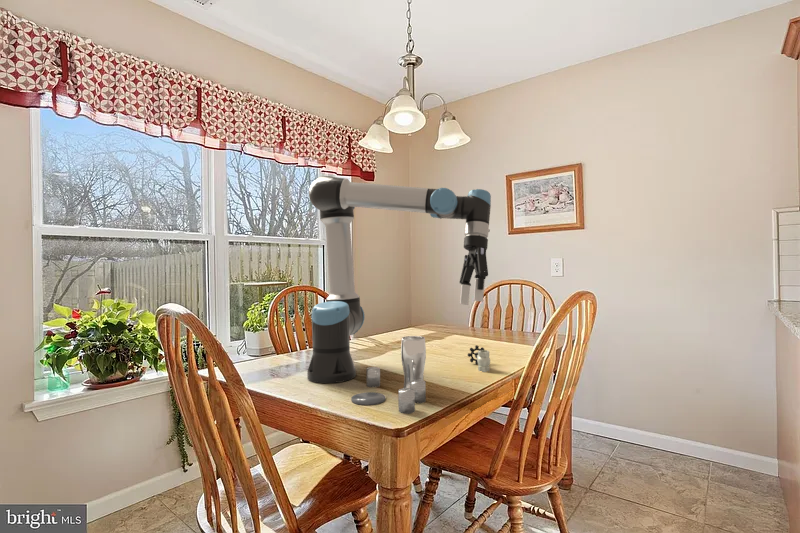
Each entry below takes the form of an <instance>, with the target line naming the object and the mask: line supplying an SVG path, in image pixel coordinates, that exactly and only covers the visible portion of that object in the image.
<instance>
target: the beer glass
mask: <svg viewBox="0 0 800 533" xmlns="http://www.w3.org/2000/svg"><path fill="white" fill-rule="evenodd" d="M400 357H401V365H402V371H403V377H404V378H403V379H404V380H403V381H404V382H403V388H410V381H412V380H424V374H425V372H424V371H425V368H426V360H427V359H426V358H427V350H426V337H424V336H423V335H422V336H421V335H408V336H402V337H401V345H400Z"/></svg>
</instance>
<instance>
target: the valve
mask: <svg viewBox="0 0 800 533" xmlns="http://www.w3.org/2000/svg"><path fill="white" fill-rule="evenodd" d="M479 347H480V346H479V345H475V346H474V348H473V347H470V348H469V351H470V352H469V353H467V357H469V358H470V359H469V361H470V362H471V363H473V362H474V361H475V365H477V370H478V372H480V371H482V372H481V373H487V371H488V372H490V368H491V367H490V365H491V359H490V351H489V350H488V349H485V348H484V347H480V348H479ZM475 351H477V352H475ZM473 356H474V357H473Z"/></svg>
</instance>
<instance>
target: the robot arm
mask: <svg viewBox="0 0 800 533" xmlns="http://www.w3.org/2000/svg"><path fill="white" fill-rule="evenodd" d="M308 197H309V200H310V203H311V204H312V205H313V206H314V207H315V208H316V209H317V210H319V220H320V222H321V223H323V225H324V228H325V238H326V239H325V242H326V255H327V256H326V257H327V266H328V267H327V268H328V281H329V282H328V284H329V295H328V296H327V297H326V299H325V302H319V303H317V304H316V305H314V306H313V307H312V310H311V311H312V312H311V335H312V336H311V337H312V338H311V339H312V354H311V357H310V358H311V359H310V362H309V365H308V368H307V375H306V376H307V377H306V378H307V380H308V381H310V382H313V383H321V384H329V383H331V384H333V383H335V384H336V383H341V382H342V383H343V382H346V381H350V380H353V379H354V378H355V377H356V373H357V372H356V366H355V363H354V361H353V357H352V355H351V351H350V350H351V349H350V337H351V336H353V335H355V334H356V333H358V331H359V330H361V328H362V327H363V324H364V322H365V312H364V309H363V307H362V306H361V299H360V295H359V294H358V293H357V292H356V290H355V276H354V263H353V262H354V260H353V246H352V245H353V244H352V231H351V223H352V222H353V221H354V219H355V215H354V212H355V210H354V209H355V208H365V209H376V210H386V211H387V210H388V211H399V212H411V213H422V214H429V215H430V217H431V218H435V219H440V220H441V219H450V220H451V219H452V220H455V219H456V220H465V224H464V238H463V248H464V249H465V250H467V251H468V254H465V255H464V259H463V265H462V268H461V274H460V279H459V284H461V286H460V298H459V304H460V305H463V306H464V305H465V306H469V302H470V291H471V287H472V284H471V279H472V276H473V273H474V271H475V275H474V279H475V280H474V289H473V290H474V291H473V301H475V302H484V294H485V293H484V292H485V281H486V278H487V277H488V276H489V268H488V261H487V260H488V259H487V249H488V244H489V243H488V241H489V239H488V237H489V233H490V230H491V229H489V226H490V219H491V218H490V216H491V208H492V204H491V203H492V201H491V200H492V199H491V198H492V194H491V193H490V192H489V191H488V190H486V189H481V188H477V189H471V190H469V192H468V194H467V195H466V196H465V195H463V196H461V195H456V193H455V192H454V191H453V190H451V189H449V188H447V187H438V188H427V187H416V186H404V185H392V184H381V183H380V184H379V183H366V182H364V183H363V182H353V181H350V180H349V178H344V177H335V176H331V175H323V176H322V175H321V176H319V177H317V178H315V179H314V181H313V182H312V183H311V184H310V187H309V190H308Z"/></svg>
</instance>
